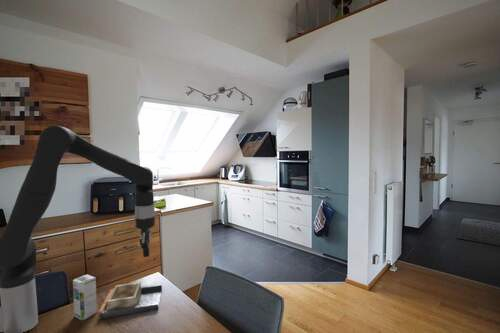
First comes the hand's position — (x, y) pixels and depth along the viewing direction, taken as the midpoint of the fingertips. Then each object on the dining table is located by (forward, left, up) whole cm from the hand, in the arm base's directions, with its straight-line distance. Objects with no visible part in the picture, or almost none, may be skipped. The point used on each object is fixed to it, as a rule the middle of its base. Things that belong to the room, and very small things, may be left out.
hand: (146, 256), depth 104 cm
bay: (-6, 0, -19) cm, 20 cm away
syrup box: (-22, -3, -19) cm, 30 cm away
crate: (-9, 0, -19) cm, 21 cm away
